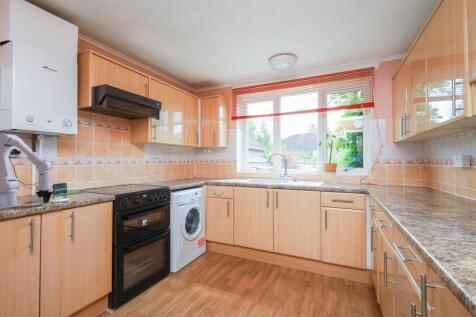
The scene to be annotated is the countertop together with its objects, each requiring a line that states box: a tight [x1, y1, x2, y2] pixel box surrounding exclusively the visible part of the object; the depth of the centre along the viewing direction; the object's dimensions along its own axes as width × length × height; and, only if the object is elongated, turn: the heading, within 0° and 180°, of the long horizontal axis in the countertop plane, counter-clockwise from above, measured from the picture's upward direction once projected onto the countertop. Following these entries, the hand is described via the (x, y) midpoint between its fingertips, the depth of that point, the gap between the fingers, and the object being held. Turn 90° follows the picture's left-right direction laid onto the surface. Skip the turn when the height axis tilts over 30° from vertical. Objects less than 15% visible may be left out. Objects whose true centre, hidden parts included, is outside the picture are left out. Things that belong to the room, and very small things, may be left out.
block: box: [38, 197, 50, 207], centre depth 139 cm, size 4×4×5 cm
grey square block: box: [30, 194, 39, 204], centre depth 150 cm, size 6×6×4 cm
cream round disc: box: [49, 197, 70, 204], centre depth 151 cm, size 13×13×1 cm
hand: (44, 202), depth 139 cm, fingers closed on block, 4 cm apart
